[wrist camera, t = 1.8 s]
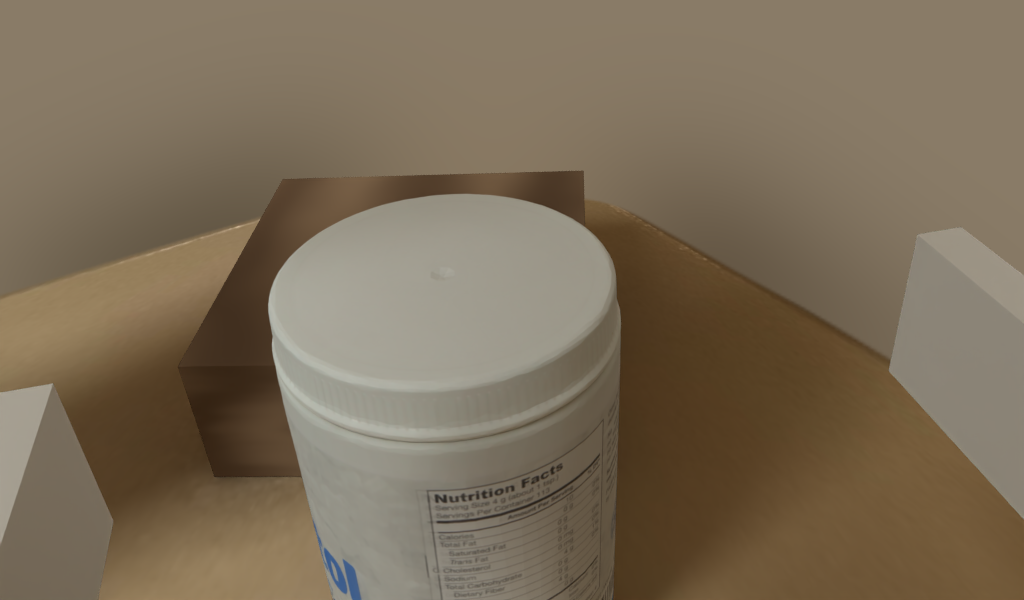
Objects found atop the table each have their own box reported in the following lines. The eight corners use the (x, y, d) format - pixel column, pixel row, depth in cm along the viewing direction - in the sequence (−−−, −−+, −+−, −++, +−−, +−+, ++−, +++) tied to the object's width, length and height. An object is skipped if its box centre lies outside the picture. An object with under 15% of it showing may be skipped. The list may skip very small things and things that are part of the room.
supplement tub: (308, 582, 34) (215, 245, 26) (526, 482, 38) (505, 158, 30) (416, 808, 27) (335, 443, 19) (672, 658, 31) (697, 297, 23)
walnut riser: (214, 476, 39) (177, 366, 36) (303, 273, 53) (282, 179, 49) (590, 475, 38) (588, 361, 35) (585, 267, 51) (583, 170, 48)
